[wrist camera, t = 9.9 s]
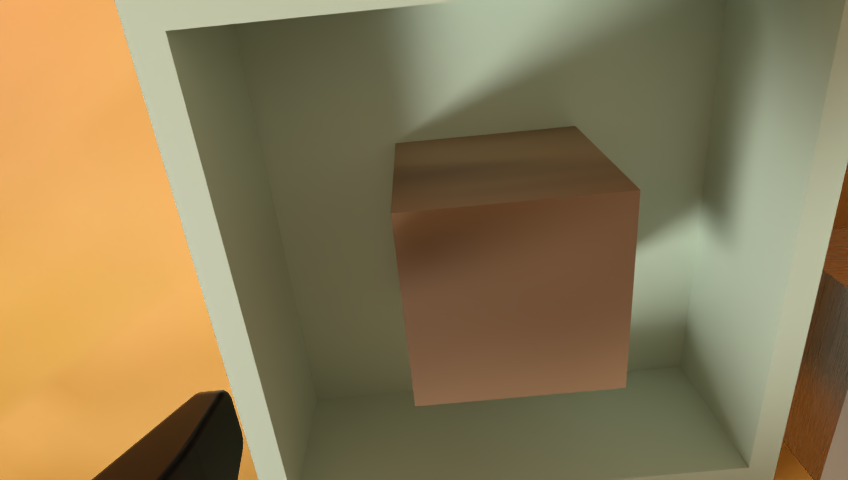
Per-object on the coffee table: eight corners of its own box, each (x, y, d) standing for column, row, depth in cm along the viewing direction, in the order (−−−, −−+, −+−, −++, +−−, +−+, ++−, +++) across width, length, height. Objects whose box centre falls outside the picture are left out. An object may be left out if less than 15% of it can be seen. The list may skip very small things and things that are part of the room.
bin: (692, 370, 16) (772, 485, 13) (302, 405, 17) (272, 527, 13) (752, -75, 12) (907, -92, 8) (201, -18, 12) (111, -10, 8)
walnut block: (572, 282, 15) (625, 387, 11) (413, 297, 15) (415, 406, 11) (574, 126, 13) (640, 190, 9) (395, 143, 13) (390, 213, 9)
